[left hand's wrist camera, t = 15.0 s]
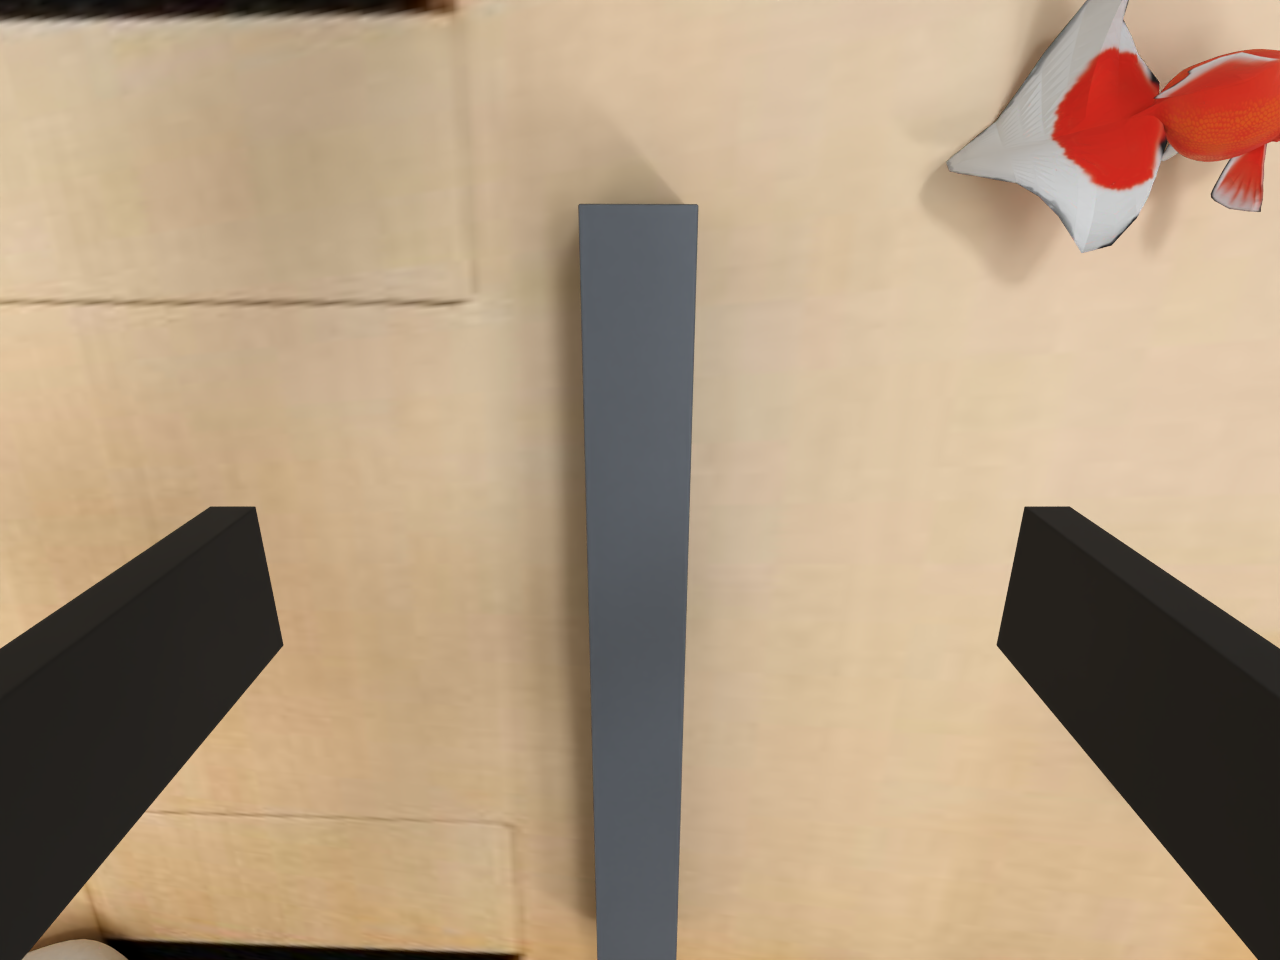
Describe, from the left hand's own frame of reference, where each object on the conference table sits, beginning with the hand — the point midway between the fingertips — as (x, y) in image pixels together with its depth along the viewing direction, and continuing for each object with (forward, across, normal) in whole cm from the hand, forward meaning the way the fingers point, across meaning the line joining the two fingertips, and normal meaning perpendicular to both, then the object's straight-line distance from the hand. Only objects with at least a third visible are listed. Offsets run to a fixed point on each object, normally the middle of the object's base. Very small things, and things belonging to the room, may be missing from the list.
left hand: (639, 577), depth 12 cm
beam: (+28, 0, -19) cm, 34 cm away
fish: (+28, +22, +10) cm, 37 cm away
